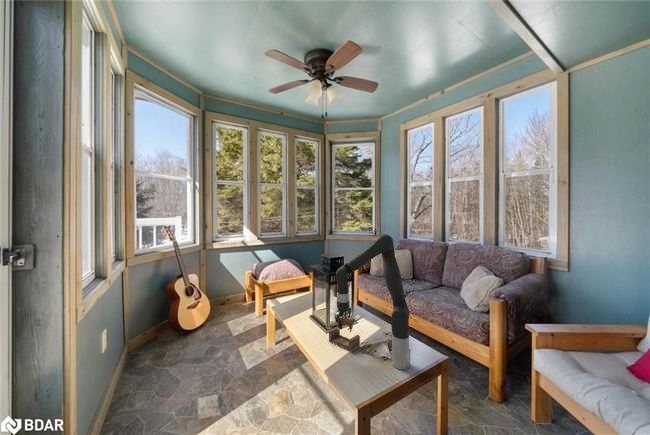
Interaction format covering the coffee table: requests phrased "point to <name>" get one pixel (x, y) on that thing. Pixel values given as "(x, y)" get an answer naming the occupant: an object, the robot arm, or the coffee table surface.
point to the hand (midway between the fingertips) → (343, 327)
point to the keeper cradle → (344, 340)
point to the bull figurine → (347, 323)
